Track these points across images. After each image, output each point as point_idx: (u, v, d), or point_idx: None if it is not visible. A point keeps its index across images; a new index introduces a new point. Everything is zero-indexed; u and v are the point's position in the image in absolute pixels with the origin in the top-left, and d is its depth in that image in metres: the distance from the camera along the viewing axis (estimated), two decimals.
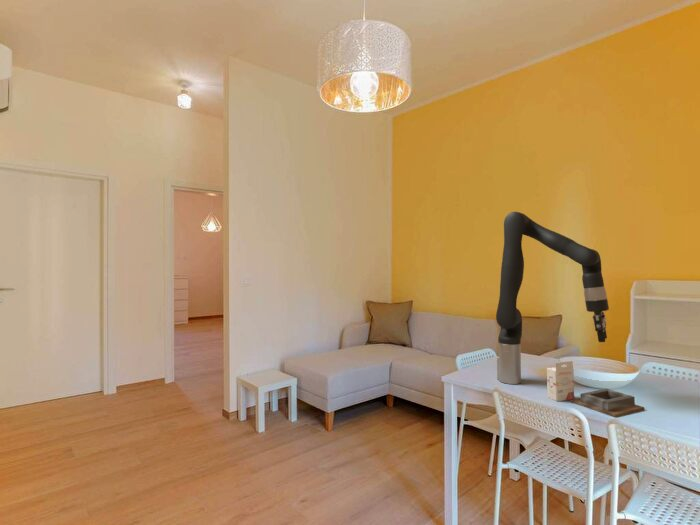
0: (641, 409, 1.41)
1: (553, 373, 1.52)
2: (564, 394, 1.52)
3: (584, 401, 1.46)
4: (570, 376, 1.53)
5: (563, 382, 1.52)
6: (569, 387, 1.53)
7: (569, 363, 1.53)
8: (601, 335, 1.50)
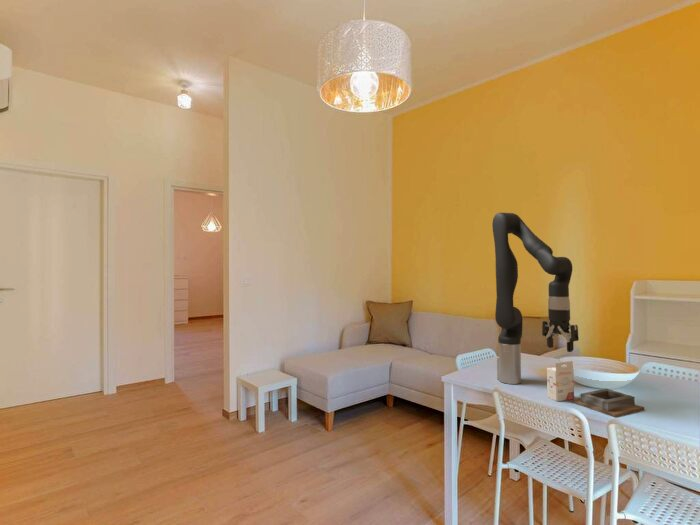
0: (641, 409, 1.41)
1: (553, 373, 1.52)
2: (564, 394, 1.52)
3: (584, 401, 1.46)
4: (570, 376, 1.53)
5: (563, 382, 1.52)
6: (569, 387, 1.53)
7: (569, 363, 1.53)
8: (572, 345, 1.50)
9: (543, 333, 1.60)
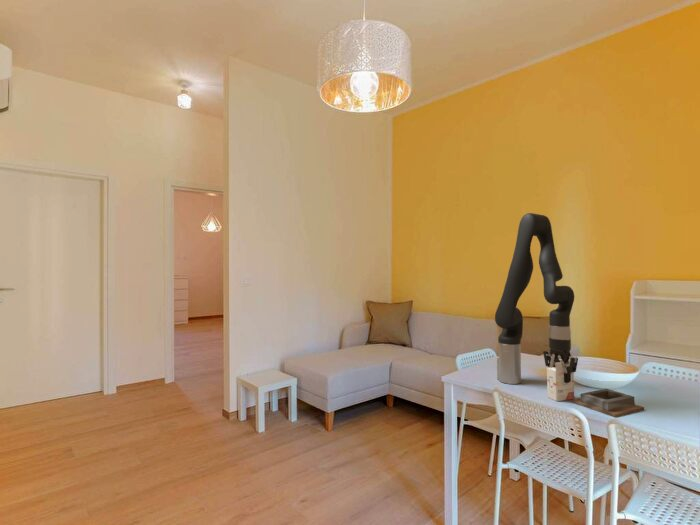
0: (641, 409, 1.41)
1: (553, 373, 1.52)
2: (564, 394, 1.52)
3: (584, 401, 1.46)
4: None
5: (563, 382, 1.52)
6: (569, 387, 1.53)
7: None
8: (569, 376, 1.51)
9: (546, 363, 1.59)
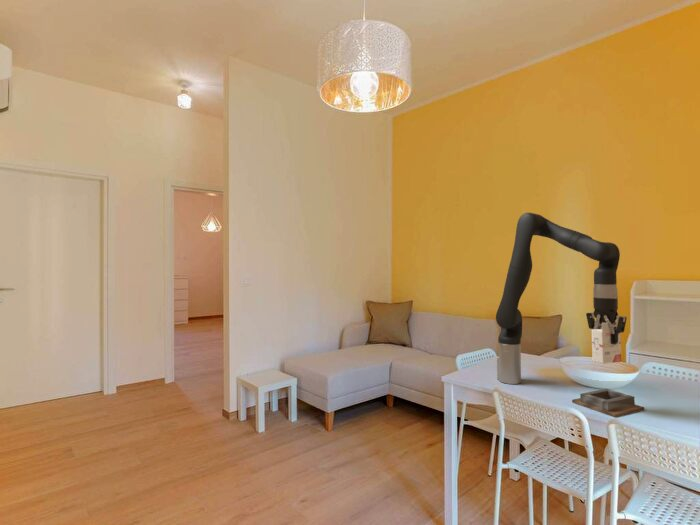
0: (641, 409, 1.41)
1: (599, 334, 1.43)
2: (611, 356, 1.43)
3: (584, 401, 1.46)
4: None
5: (610, 343, 1.43)
6: (616, 349, 1.44)
7: None
8: (617, 337, 1.42)
9: (590, 326, 1.50)
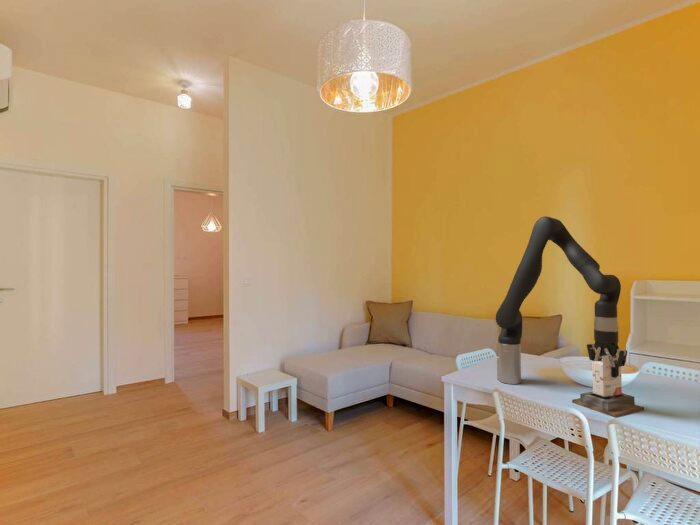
0: (641, 409, 1.41)
1: (600, 367, 1.43)
2: (612, 389, 1.43)
3: (584, 401, 1.46)
4: None
5: (611, 377, 1.43)
6: (616, 382, 1.44)
7: None
8: (617, 370, 1.42)
9: (590, 357, 1.50)
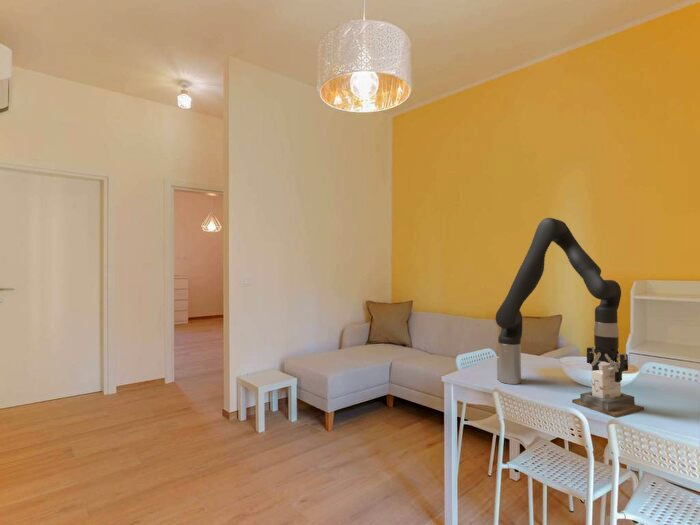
0: (641, 409, 1.41)
1: (599, 376, 1.43)
2: (611, 398, 1.43)
3: (584, 401, 1.46)
4: None
5: (610, 386, 1.43)
6: (616, 391, 1.44)
7: None
8: (621, 375, 1.41)
9: (588, 360, 1.51)
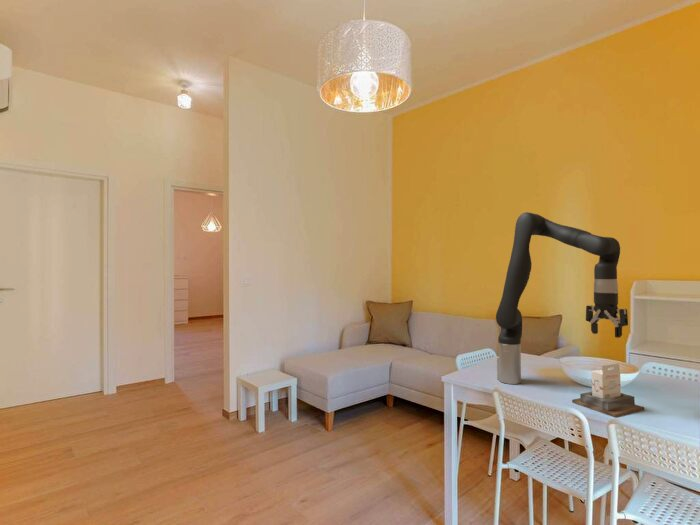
0: (641, 409, 1.41)
1: (599, 376, 1.43)
2: None
3: (584, 401, 1.46)
4: (617, 379, 1.44)
5: (610, 386, 1.43)
6: (616, 391, 1.44)
7: (616, 366, 1.44)
8: (621, 330, 1.41)
9: (587, 318, 1.51)
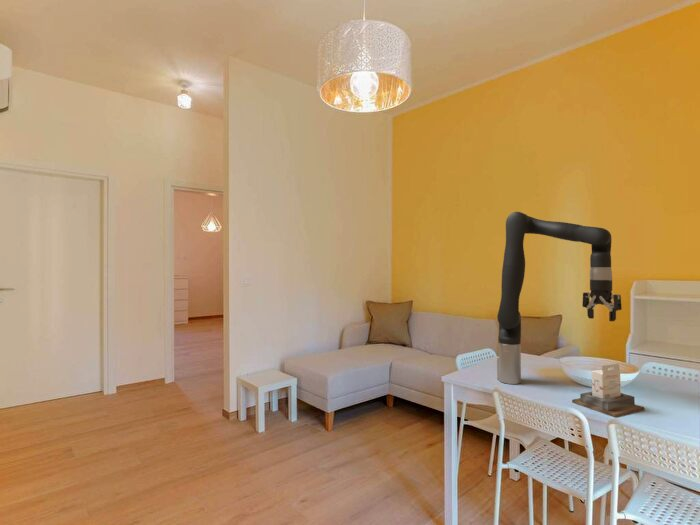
0: (641, 409, 1.41)
1: (599, 376, 1.43)
2: (611, 398, 1.43)
3: (584, 401, 1.46)
4: (617, 379, 1.44)
5: (610, 386, 1.43)
6: (616, 391, 1.44)
7: (616, 366, 1.44)
8: (615, 314, 1.52)
9: (583, 304, 1.62)
